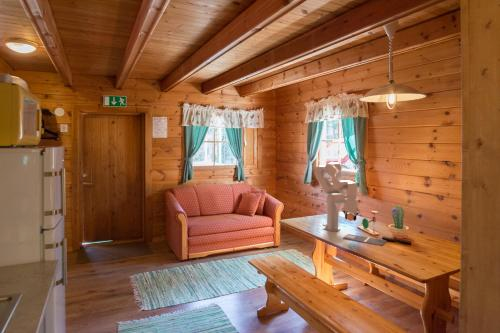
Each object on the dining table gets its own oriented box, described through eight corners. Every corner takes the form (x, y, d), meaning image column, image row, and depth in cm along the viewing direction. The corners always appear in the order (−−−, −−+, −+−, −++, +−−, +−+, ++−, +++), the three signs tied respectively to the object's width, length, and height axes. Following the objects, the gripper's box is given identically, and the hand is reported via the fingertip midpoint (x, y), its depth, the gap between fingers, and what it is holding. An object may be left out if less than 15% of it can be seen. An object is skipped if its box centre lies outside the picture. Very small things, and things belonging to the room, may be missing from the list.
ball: (345, 220, 267) (345, 213, 267) (347, 219, 272) (348, 211, 271) (353, 222, 264) (353, 214, 263) (355, 220, 269) (355, 213, 268)
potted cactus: (384, 233, 280) (385, 204, 277) (403, 233, 280) (404, 204, 278) (392, 239, 264) (393, 208, 262) (412, 239, 265) (413, 208, 262)
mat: (342, 238, 266) (342, 237, 266) (347, 234, 277) (347, 233, 276) (382, 245, 249) (382, 244, 249) (386, 241, 260) (386, 240, 260)
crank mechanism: (380, 235, 275) (380, 212, 273) (372, 236, 273) (373, 212, 272) (363, 227, 299) (363, 206, 297) (356, 227, 298) (357, 206, 296)
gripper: (339, 197, 268) (338, 219, 270) (361, 199, 258) (360, 222, 260) (342, 195, 274) (341, 217, 276) (363, 198, 264) (362, 220, 266)
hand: (350, 219), depth 268 cm, fingers closed on ball, 5 cm apart
